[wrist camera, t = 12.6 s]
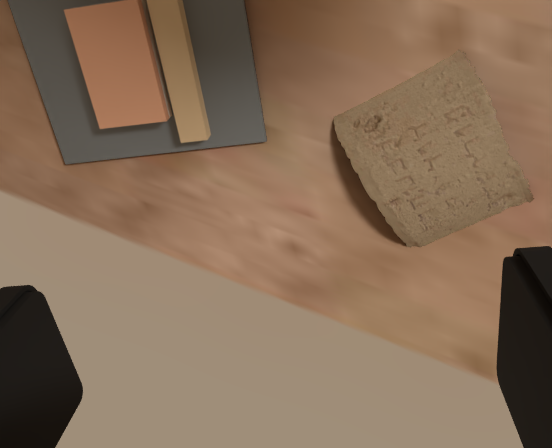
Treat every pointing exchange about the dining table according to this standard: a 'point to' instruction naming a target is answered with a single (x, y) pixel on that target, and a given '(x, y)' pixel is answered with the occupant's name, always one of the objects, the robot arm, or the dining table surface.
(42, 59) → the mat
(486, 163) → the clay tablet
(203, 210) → the dining table surface
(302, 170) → the dining table surface
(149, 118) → the tile
